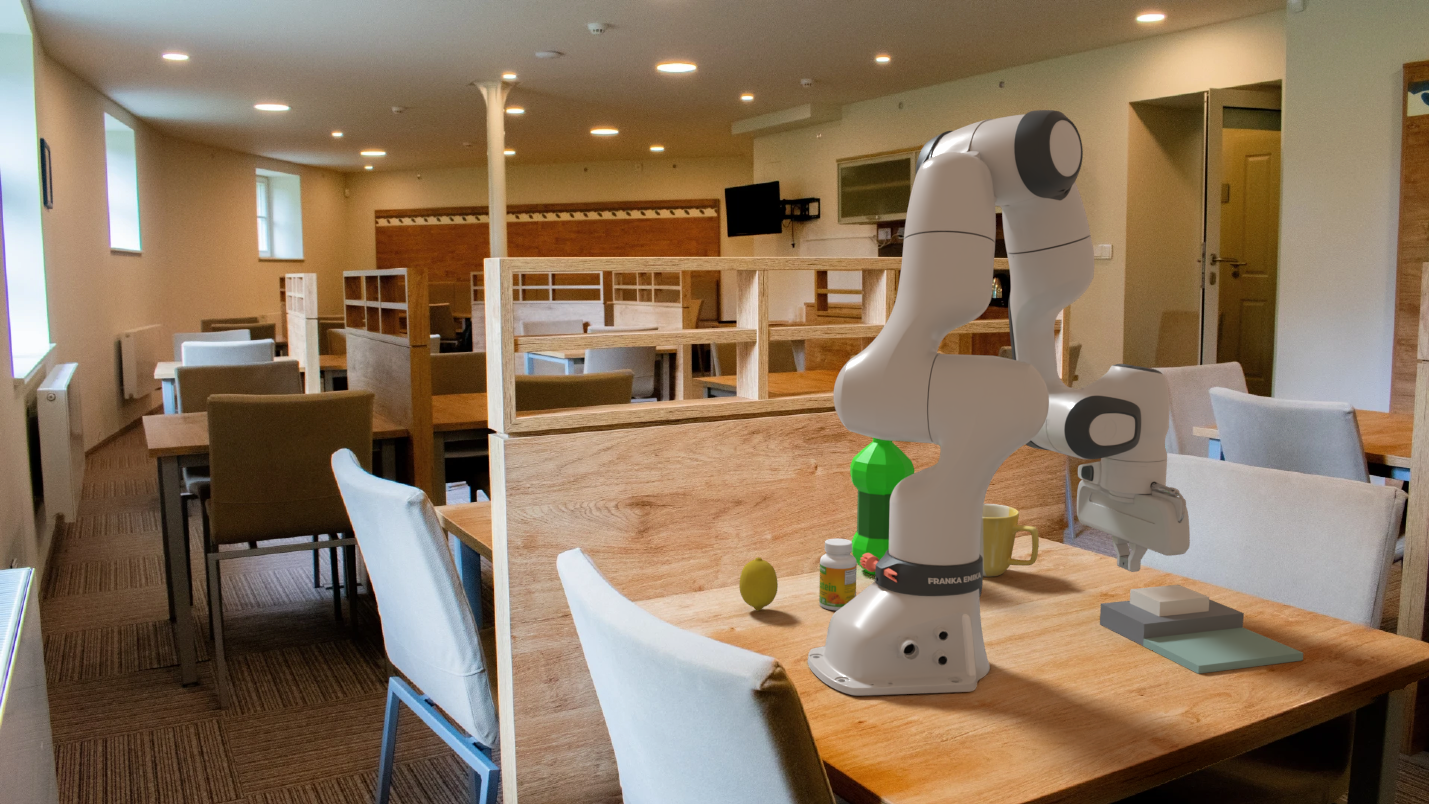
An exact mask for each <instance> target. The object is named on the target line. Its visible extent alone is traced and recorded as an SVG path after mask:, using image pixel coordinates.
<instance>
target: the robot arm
mask: <svg viewBox="0 0 1429 804" xmlns="http://www.w3.org/2000/svg"><path fill="white" fill-rule="evenodd" d="M1083 148H1084V147H1083V142H1082V138H1081V134H1080V132H1079V130H1078V128H1077V126H1076V125H1075V123H1074V121H1072V120H1071V119H1070V118H1069V117H1068V116H1067V115H1065V113H1063V112H1061V111H1059V110H1051V109H1041V110H1040V109H1039V110H1031V111H1028V112H1027V113H1026V114H1025V113H1022V114H1016V115H1008V116H1004V117H997V118H986V119H983V120H981V121H977V122H974V123H969V124H968V125H965V126H962V127H960V128H958V129H954V130H947V131H944V132H942V133H940V134H937V135H935V136H934V137H932V138H931V139H929V140H928V141H927V142H926V143H925V144H924V145H923V147H922V148H921V150H920V153H919V154H918V158H917V161H916V164H915V165H916V166H915V178H914V181H913V185H912V188H911V193H910V196H909V201H908V207H907V212H906V218H905V224H904V235H903V236H904V237H903V244H902V245H903V247H902V256H901V257H902V258H901V267H900V275H899V280H898V281H899V282H898V287H897V293H896V297H895V302H894V304H893V307H892V310H891V313H890V315H889V317H888V319H887V321H886V322H885V325H884V326H883V327H882V329H881V331H880V332H879V333H878V335H876V337H875V338H874V340H873V341H872V342H870V344H868V345H867V347H865V348H864V349H863V350H861V351H860V352H859V353H858V354H856V355H854V356H853V357H851V358H850V359H849V360H848V361H846V363H845V364H844V365H843V367H842V368H841V369H840V371H839V373H838V375H837V376H836V379H835V382H834V387H833V397H832V398H833V405H834V409H835V412H836V414H837V418H838V419H839V421H840V422H841V424H842V425H843V426H844V427H845V428H846V429H847V431H849V432H850V433H855V434H858V435H861V436H865V437H869V438H871V439H873V438H876V439H880V440H889V441H892V442H906V443H908V442H910V443H920V444H921V443H923V444H934V445H938V446H939V447H940V452H939V458H938V460H937V463H935V464H934V465H932V466H928V467H927V468H923V469H921V470H918V471H916V472H914V474H912V475H910V476H908V477H906V478H904V479H903V480H901V481H900V482H899V483H898V484H897V485H896V487H895V488H894V490H893V491H892V494H891V497H890V512H889V549H888V550H887V551H886V553H885V555H884V556H883V557H882V558H881V559H880V560H879V559H878V558H877V557H875V556H874V555H872V554H870V553H865V554H863V555H862V556H864V557H861V558H860V559H861V560H860V562H861V564H860V565H862V567H863V568H865V569H867V570H868V571H870V572H874V571H875V575H874V576H875V577H874V580H873V582H871V584H870V585H868V586H866V587H865V588H864V589H863V590H861V592H860V593H858V594H856V597H854V598H853V599H852V600H851V601H849V602H848V603H847V604H845V605H844V606H843V607H842V608H840V609H839V610H837V611H835V612H833V614H832V616H831V619H830V621H829V624H828V628H827V633H826V639H825V645H823V646H819V647H814V648H811V649H809V652H808V654H807V655H808V656H807V665H808V667H809V669H810V670H811V672H812V673H813V674H814V675H815V676H816V677H817V678H818V679H819V680H821V681H822V682H823V683H824V684H826V685H827V686H829V687H830V688H832V689H835V690H836V691H839V692H841V693H844V694H847V695H849V696H850V695H851V696H884V695H907V694H908V695H909V694H913V695H915V694H939V693H940V694H941V693H962V692H963V693H964V692H973V691H975V690H976V689H977V687H978V682H979V681H980V679H982V678H984V677H985V676H986V675H987V674H989V673H990V669H991V665H990V663H989V659H988V655H987V652H986V646H985V642H984V636H983V628H982V626H983V625H982V618H981V605H980V597H981V596H982V591H983V590H982V589H983V580H984V576H983V558H982V556H981V555H980V533H981V521H982V513H983V505H984V504H985V499H986V495H987V492H988V488H989V486H990V484H991V481H992V480H993V478H994V477H995V476H994V475H996V473H997V471H998V470H999V468H1000V467H1001V466H1002V465H1003V463H1004V462H1005V461H1006V460H1007V459H1008V458H1009V457H1010V456H1011V455H1012V454H1014V453H1015V452H1016V451H1017V450H1019V449H1020V448H1021V447H1023V446H1025V445H1026V446H1027V447H1030V448H1033V449H1035V450H1043V451H1051V452H1055V453H1059V454H1062V455H1064V456H1070V457H1074V458H1077V459H1081V460H1098V459H1100V461H1095V462H1089V463H1083V464H1080V465H1078V467H1077V477H1078V479H1080V481H1079V483H1078V485H1077V492H1076V493H1077V495H1076V515H1077V516H1076V517H1077V518H1078V522H1080V524H1081V525H1083V526H1087V527H1089V528H1092V529H1095V530H1096V531H1100V532H1102V533H1105V534H1108V535H1110V536H1111V538H1112V539H1111V540H1112V541H1111V543H1112V546H1113V548H1114V551H1115V554H1116V558H1117V559H1116V566H1117V567H1119V568H1121V569H1124V570H1127V571H1129V572H1131V573H1137V572H1139V571H1140V570H1141V564H1142V563H1141V561H1142V559H1143V558H1144V556H1145V554H1146V553H1147V551H1148V550H1150V551H1153V552H1155V553H1158V554H1161V555H1163V556H1168V557H1170V556H1180V555H1184V554H1186V553H1187V551H1188V550H1189V548H1190V543H1191V539H1190V537H1191V536H1190V518H1189V511H1188V508H1187V500H1186V499H1185V498H1184V497H1183V495H1182V493H1180V490H1179V489H1177V488H1176V487H1172V486H1171V487H1170V486H1168V485H1167V469H1168V468H1167V467H1168V453H1167V449H1166V438H1167V434H1168V432H1169V428H1170V409H1171V408H1170V406H1171V405H1170V391H1169V383H1168V380H1167V377H1166V375H1165V374H1163V373H1162V372H1161V371H1159V370H1158V369H1154V368H1151V367H1145V366H1141V365H1140V366H1138V365H1133V364H1127V363H1115V364H1112V365H1111V366H1110V368H1109V369H1108V371H1107V372H1106V373H1104V374H1103V375H1102V376H1101V377H1100V378H1097V380H1095V381H1092V382H1091V383H1090V384H1087V385H1085V386H1081V387H1080V388H1074V387H1071V386H1070V387H1069V386H1068V385H1066V384H1065V383H1064V382H1063V381H1062V379H1061V378H1060V375H1059V372H1058V363H1057V350H1056V338H1055V323H1056V320H1057V318H1058V315H1059V314H1060V313H1061V312H1062V311H1063V310H1064V309H1065V308H1068V307H1069V306H1070V305H1072V304H1074V303H1075V302H1076V301H1078V299H1080V298H1081V296H1083V295H1084V294H1085V293H1086V292H1087V290H1088V289H1089V287H1090V285H1092V284H1091V283H1092V282H1093V279H1094V275H1095V252H1094V247H1093V241H1092V235H1091V231H1090V230H1091V229H1090V225H1089V220H1088V217H1087V216H1088V215H1087V213H1086V209H1085V205H1084V202H1083V200H1082V196H1081V194H1080V190H1079V188H1078V185H1077V183H1076V181H1077V178H1078V177H1079V174H1080V172H1081V168H1082V165H1083V160H1084V159H1083V158H1084V157H1083V156H1084V153H1083V152H1084V149H1083ZM996 207H1000V209H1001V212H1002V213H1001V214H1002V215H1001V216H1002V217H1001V218H1002V229H1003V237H1004V244H1005V250H1006V254H1007V260H1008V261H1007V262H1008V268H1009V275H1010V292H1009V296H1008V311H1007V312H1008V327H1009V337H1010V346H1011V347H1010V349H1011V357H1012V358H1007V357H1002V356H996V355H982V354H981V355H980V354H978V355H977V354H956V353H955V354H954V353H953V354H949V353H948V354H946V353H940V352H938V351H939V347H940V345H941V343H942V341H943V340H944V338H945V337H946V336H947V335H948V334H949V333H951V332H952V331H955V330H956V329H959V328H960V327H963V326H966V325H968V324H969V323H972V322H973V321H975V320H976V319H978V318H979V317H981V315H983V314H984V313H985V311H986V310H987V308H988V307H989V304H990V303H991V301H992V295H993V294H992V293H993V279H994V278H993V277H994V265H995V251H996V236H997V235H996V234H997V233H996V232H997V229H996V228H997V226H996V225H997V222H996V221H997V218H996V217H997V216H996ZM1130 550H1131V551H1130Z"/></svg>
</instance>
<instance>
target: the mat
mask: <svg viewBox="0 0 1429 804" xmlns="http://www.w3.org/2000/svg"><path fill="white" fill-rule="evenodd" d="M1142 647H1144V648H1146V649H1149V650H1151V651H1152V650H1153V651H1152V652H1154V653H1156V654H1158V655H1160V656H1163V657H1164V658H1166V659H1168V660H1170V661H1172V662H1174V663H1177V664H1178V665H1180V666H1182V667H1184V668H1186V669H1188V670H1189V671H1193V672H1194V673H1195V674H1198V675H1200V674H1205V673H1213V672H1214V673H1215V672H1222V671H1229V670H1230V671H1231V670H1238V669H1245V668H1246V669H1247V668H1253V667H1260V666H1267V665H1268V666H1269V665H1278V664H1284V663H1292V662H1293V663H1294V662H1301V661H1303V660H1304V652H1302V651H1300V650H1298V649H1296V648H1293V647H1291V646H1288V645H1285V644H1284V643H1281V642H1278V641H1276V640H1274V639H1272V638H1269V637H1267V636H1264V635H1262V634H1260V633H1257V632H1255V631H1253V630H1250V629H1247V628H1245V627H1244V626H1243V627H1242V628H1233V629H1224V630H1215V631H1207V632H1198V633H1189V634H1181V635H1172V636H1163V637H1154V638H1146V639H1144V640H1143V646H1142Z"/></svg>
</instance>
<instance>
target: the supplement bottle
mask: <svg viewBox="0 0 1429 804" xmlns="http://www.w3.org/2000/svg"><path fill="white" fill-rule="evenodd" d="M824 551H825V552H826V553H825V554H823V555H822V556H821V557H820V559H819V593H818V595H819V596H818V597H819V598H818V601H819V606H820V607H821V608H822V609H825V610H830V611H835V612H836V611H837V610H839V609H840V608H842V607H843V606H844V605H845V604H847V603H848V602H849V601H851V600H852V599H853V598H854V597H856V596H857V569H858V567H857V565H858V564H857V562H856V558H855V557H854V556H853V554H852V540H849V539H845V538H838V537H837V538H829V539H826V540H825V541H824Z"/></svg>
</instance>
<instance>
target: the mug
mask: <svg viewBox="0 0 1429 804" xmlns="http://www.w3.org/2000/svg"><path fill="white" fill-rule="evenodd" d="M1019 517H1020V511H1019V510H1018V509H1016V508H1014V507H1011V506H1007V505H1005V504H1004V505H1003V504H996V503H984V505H983V513H982V521H981V533H980V555H981V556H982V558H983V577H997V576H998V577H999V576H1001V575H1003V574H1004V573H1005V572H1006V571H1007V570H1008V568H1009V567H1010V566H1025V567H1026V566H1032V565H1034V564H1035V563H1036V561H1037V559H1038V553H1039V548H1040V547H1039V543H1040V542H1039V531H1038V529H1037V527H1035V526H1031V525H1030V526H1029V525H1023V524H1022V525H1021V524H1018V523H1019V519H1020V518H1019ZM1019 532H1029V533H1030V535H1031V548H1032V549H1031V556H1030V559H1027V560H1026V559H1025V560H1024V559H1016V558H1012V556H1013V550H1014V545H1015V541H1016V540H1015V539H1016V535H1017V533H1019Z"/></svg>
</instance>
